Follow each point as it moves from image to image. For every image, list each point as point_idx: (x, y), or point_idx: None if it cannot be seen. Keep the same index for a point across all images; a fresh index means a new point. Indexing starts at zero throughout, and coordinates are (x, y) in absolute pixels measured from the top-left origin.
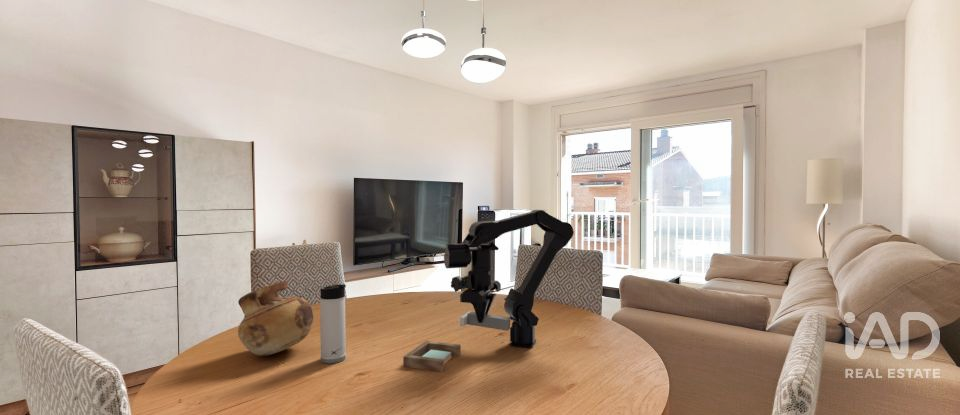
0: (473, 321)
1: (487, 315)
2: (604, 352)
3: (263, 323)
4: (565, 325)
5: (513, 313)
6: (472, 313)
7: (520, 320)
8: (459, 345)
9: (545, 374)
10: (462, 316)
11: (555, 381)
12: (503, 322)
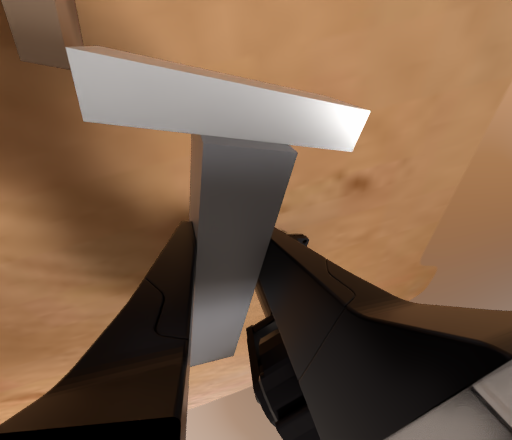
0: (192, 181)
1: (228, 290)
2: (240, 363)
3: None
4: (383, 287)
5: (263, 366)
6: (240, 190)
7: (250, 351)
8: (46, 64)
9: (63, 354)
10: (139, 73)
11: (30, 377)
12: None
